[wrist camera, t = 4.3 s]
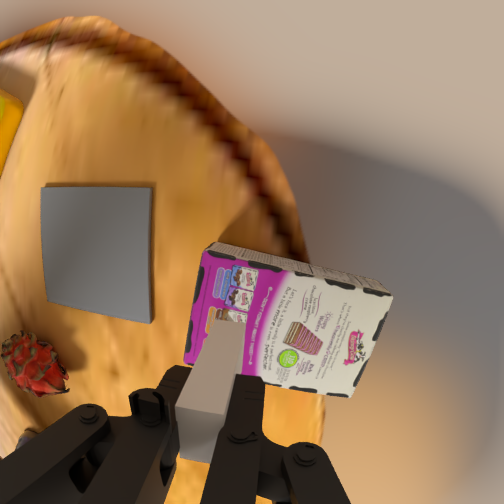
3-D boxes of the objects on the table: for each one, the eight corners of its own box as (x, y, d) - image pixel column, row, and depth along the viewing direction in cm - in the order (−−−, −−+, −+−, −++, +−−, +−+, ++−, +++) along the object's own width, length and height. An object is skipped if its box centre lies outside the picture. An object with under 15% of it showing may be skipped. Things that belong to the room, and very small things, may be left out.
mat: (50, 299, 31) (47, 301, 31) (44, 187, 28) (41, 187, 28) (152, 321, 30) (149, 324, 30) (152, 187, 27) (150, 187, 27)
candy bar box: (194, 339, 31) (342, 374, 30) (180, 364, 26) (350, 402, 25) (215, 237, 28) (380, 279, 27) (202, 247, 23) (397, 296, 23)
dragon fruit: (25, 318, 35) (87, 361, 37) (6, 364, 31) (67, 407, 34) (2, 314, 27) (75, 367, 29) (-18, 368, 24) (52, 422, 26)
